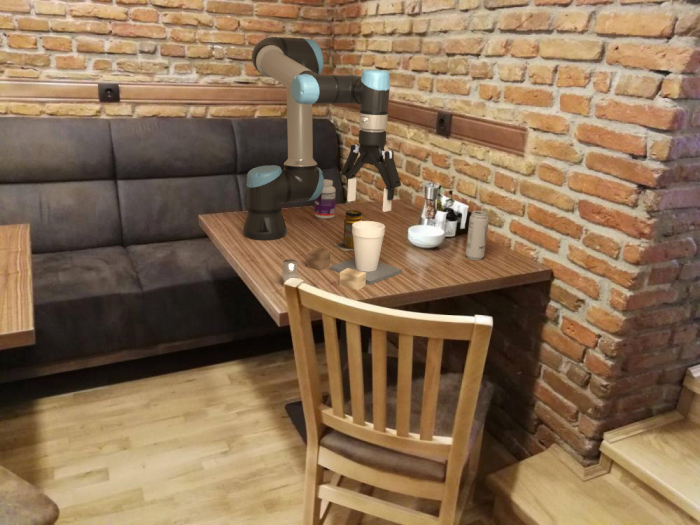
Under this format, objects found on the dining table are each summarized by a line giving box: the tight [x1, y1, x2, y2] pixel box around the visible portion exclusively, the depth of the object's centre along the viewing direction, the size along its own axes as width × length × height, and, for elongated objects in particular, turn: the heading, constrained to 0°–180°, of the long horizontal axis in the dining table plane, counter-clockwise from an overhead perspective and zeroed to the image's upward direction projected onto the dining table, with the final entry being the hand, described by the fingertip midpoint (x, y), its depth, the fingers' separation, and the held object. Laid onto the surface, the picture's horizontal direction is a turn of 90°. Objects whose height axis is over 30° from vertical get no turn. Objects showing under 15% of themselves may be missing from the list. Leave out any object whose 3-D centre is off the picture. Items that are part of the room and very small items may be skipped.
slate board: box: [329, 257, 403, 286], centre depth 165 cm, size 16×14×1 cm
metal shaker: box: [282, 258, 299, 288], centre depth 151 cm, size 4×4×7 cm
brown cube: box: [306, 246, 331, 271], centre depth 166 cm, size 5×5×5 cm
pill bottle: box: [314, 178, 337, 220], centre depth 217 cm, size 8×8×14 cm
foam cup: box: [352, 220, 386, 271], centre depth 163 cm, size 10×9×13 cm
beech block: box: [339, 268, 367, 291], centre depth 154 cm, size 6×4×4 cm, turn 59°
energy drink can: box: [465, 210, 490, 261], centre depth 177 cm, size 6×6×15 cm
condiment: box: [333, 209, 363, 252], centre depth 184 cm, size 7×8×12 cm
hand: (368, 205), depth 158 cm, fingers open, 13 cm apart
